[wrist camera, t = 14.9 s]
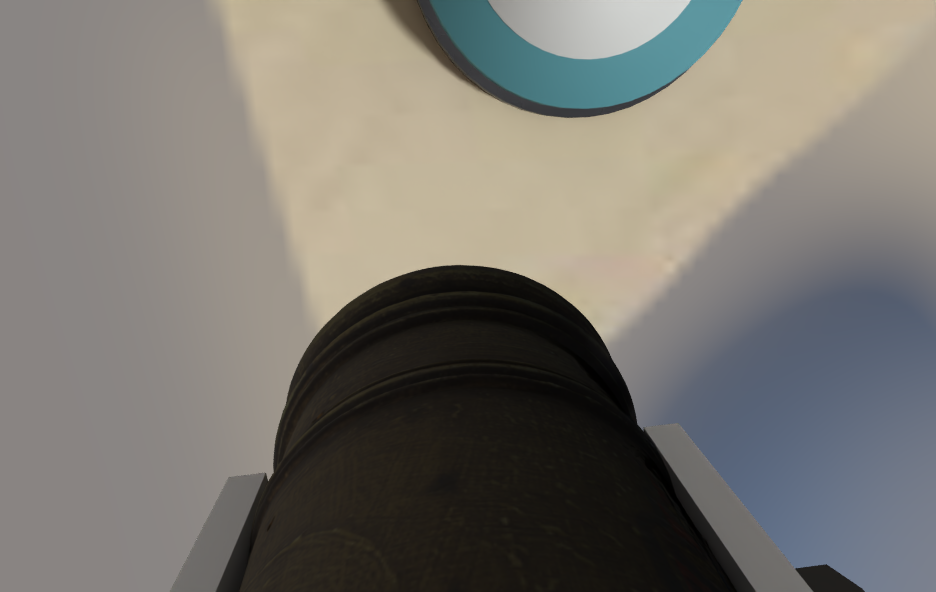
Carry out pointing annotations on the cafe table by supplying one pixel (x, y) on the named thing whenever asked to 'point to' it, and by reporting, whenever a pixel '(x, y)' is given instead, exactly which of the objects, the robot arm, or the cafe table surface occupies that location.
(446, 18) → the turntable
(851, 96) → the cafe table surface
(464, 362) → the container
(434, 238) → the cafe table surface
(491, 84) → the turntable base
